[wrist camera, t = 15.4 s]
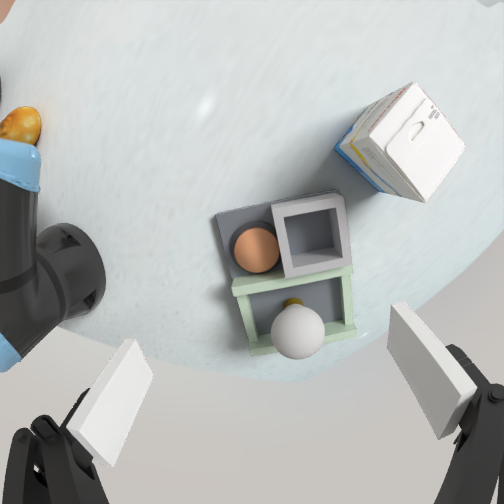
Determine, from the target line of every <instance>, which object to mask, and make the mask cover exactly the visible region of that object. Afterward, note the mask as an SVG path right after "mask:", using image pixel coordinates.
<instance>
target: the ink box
mask: <svg viewBox="0 0 504 504" xmlns="http://www.w3.org/2000/svg"><path fill="white" fill-rule="evenodd" d="M464 149H465V145H464V143H463V142H462V140H461V138H460V137H459V135H458V134H457V132H456V131H455V129H454V128H453V127H452V125H451V124H450V122H449V121H448V120H447V118H446V117H445V116H444V115H443V113H442V112H441V111H440V109H439V108H438V107H437V106H436V105H435V103H434V102H433V101H432V100H431V99H430V98H429V96H428V95H427V94H426V93H425V92H424V91H423V90H422V89H421V87H420V86H419V85H418V84H417V83H416V82H415V81H414V82H412V83H410V84H407V85H406V86H404V87H402V88H400V89H398V90H396V91H394V92H392V93H391V94H389V95H387V96H385V97H383V98H381V99H380V100H378V101H376V102H374V103H373V104H371V105H370V106H369V107H368V108H367V109H366V110H365V112H364V113H363V114H362V115H361V116H360V117H359V119H358V120H357V121H356V122H355V123H354V125H353V126H352V127H351V128H350V130H349V131H348V132H347V133H346V135H345V136H344V137H343V138H342V139H341V140H340V142H339V143H338V144H337V145H336V146H335V147H334V150H335V151H337V152H338V153H339V154H340V155H341V156H342V157H343V158H345V159H346V160H347V161H348V162H349V163H350V164H351V165H352V166H353V167H354V168H355V169H356V170H357V171H358V172H359V173H360V174H361V175H362V176H363V177H364V178H365V179H366V180H367V181H368V182H369V183H370V184H371V185H373V186H374V187H375V188H376V189H377V190H378V191H379V192H383V193H388V194H392V195H396V196H400V197H404V198H408V199H411V200H415V201H419V202H423V203H426V201H427V200H428V199H429V198H430V196H431V195H432V194H433V192H434V191H435V190H436V189H437V187H438V186H439V185H440V183H441V182H442V180H443V179H444V178H445V176H446V175H447V174H448V172H449V171H450V169H451V168H452V167H453V165H454V164H455V162H456V161H457V159H458V158H459V157H460V155H461V154H462V152H463V151H464Z"/></svg>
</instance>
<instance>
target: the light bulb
mask: <svg viewBox="0 0 504 504" xmlns="http://www.w3.org/2000/svg"><path fill="white" fill-rule="evenodd" d="M324 337H325V328H324V324H323V321H322V319H321V318H320V316H319V315H318V314H317V313H316V312H315V311H313V310H311V309H310V308H307V307H304V305H303V302H302V301H301V300H300V299H299V298H295V297H293V298H289V299H287V300H286V301H285V302H284V305H283V311H282V312H281V313H280V314H279V315H278V316H277V317H276V318H275V320H274V322H273V324H272V328H271V339H272V342H273V345H274V347H275V348H276V349H277V351H278V352H279V353H280V354H282V355H283V356H285V357H287V358H290V359H304V358H307V357H310V356H311V355H313V354H314V353H316V352H317V351H318V349H319V348H320V347H321V345H322V343H323V341H324Z"/></svg>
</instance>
